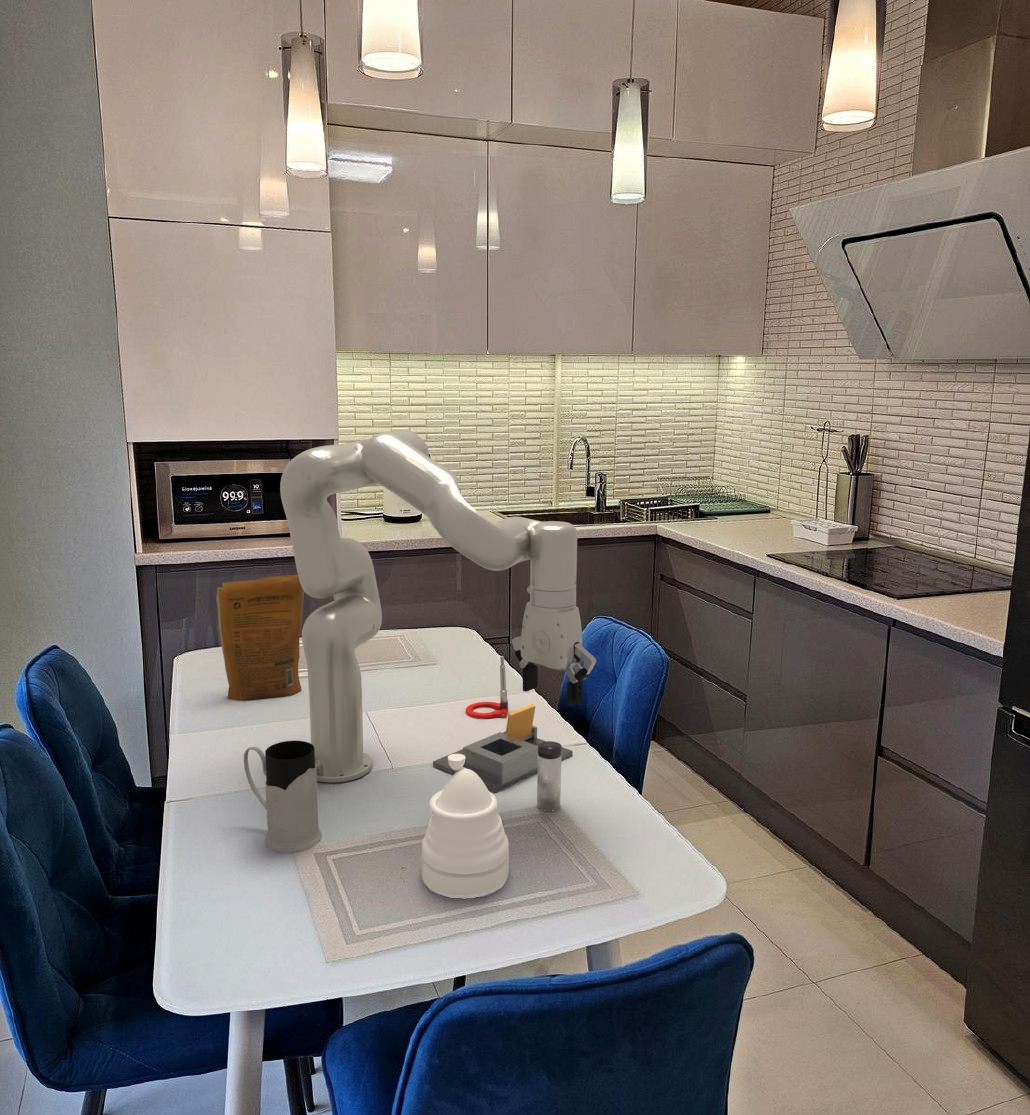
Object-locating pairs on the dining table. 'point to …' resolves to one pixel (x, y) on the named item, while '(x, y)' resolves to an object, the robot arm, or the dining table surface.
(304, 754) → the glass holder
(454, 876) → the honey pot
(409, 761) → the dining table surface
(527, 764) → the plate
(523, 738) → the tab
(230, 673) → the pancake mix bag
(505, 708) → the tow hook
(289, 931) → the dining table surface
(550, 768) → the pin
